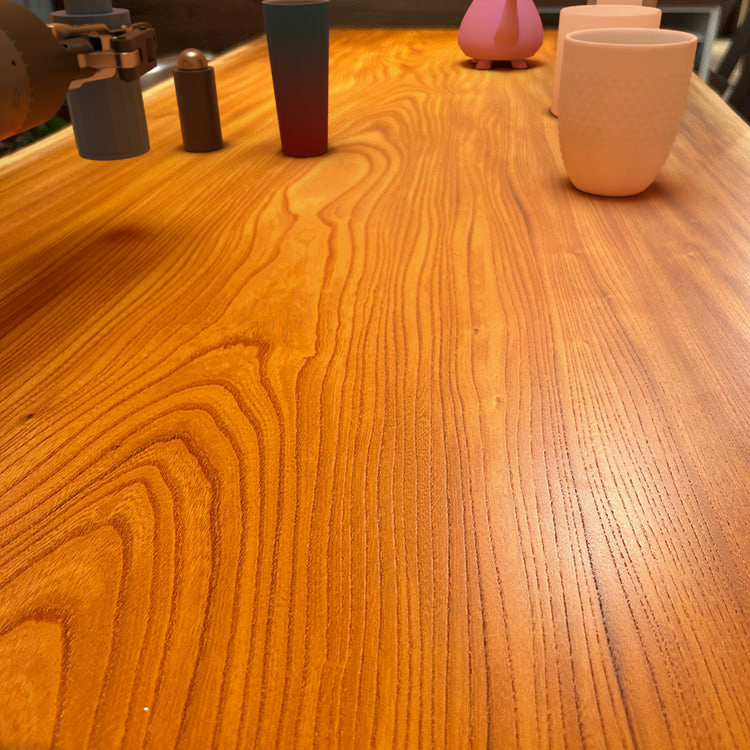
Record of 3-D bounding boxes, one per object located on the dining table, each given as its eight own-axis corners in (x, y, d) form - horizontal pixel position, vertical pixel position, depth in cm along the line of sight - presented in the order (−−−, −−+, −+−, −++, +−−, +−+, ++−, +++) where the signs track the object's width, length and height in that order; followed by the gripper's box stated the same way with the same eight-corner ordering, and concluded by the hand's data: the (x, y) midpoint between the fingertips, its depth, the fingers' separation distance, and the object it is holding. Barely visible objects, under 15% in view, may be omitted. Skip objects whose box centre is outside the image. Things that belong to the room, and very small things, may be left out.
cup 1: (297, 163, 81) (286, 5, 74) (262, 150, 86) (248, 1, 78) (348, 151, 85) (343, 0, 77) (312, 139, 90) (303, -4, 82)
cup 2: (532, 109, 101) (540, 8, 95) (601, 100, 105) (613, 2, 99) (592, 128, 92) (606, 17, 86) (665, 116, 96) (683, 10, 90)
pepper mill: (177, 151, 86) (162, 51, 81) (193, 141, 90) (180, 45, 85) (214, 152, 85) (201, 52, 80) (228, 142, 89) (217, 45, 84)
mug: (540, 158, 81) (553, 22, 74) (648, 159, 80) (671, 21, 73) (555, 204, 68) (572, 45, 62) (684, 206, 67) (715, 44, 61)
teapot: (553, 74, 122) (561, -14, 116) (463, 76, 122) (466, -12, 116) (531, 54, 139) (537, -23, 133) (452, 56, 139) (455, -22, 133)
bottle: (65, 159, 59) (20, -50, 52) (101, 141, 64) (64, -53, 56) (130, 162, 58) (93, -51, 51) (161, 144, 63) (132, -54, 55)
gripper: (65, 6, 41) (194, -19, 56) (-162, 4, 44) (15, -19, 58) (93, 147, 45) (206, 91, 59) (-118, 137, 48) (39, 85, 62)
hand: (111, 36), depth 59 cm, fingers closed on bottle, 5 cm apart
